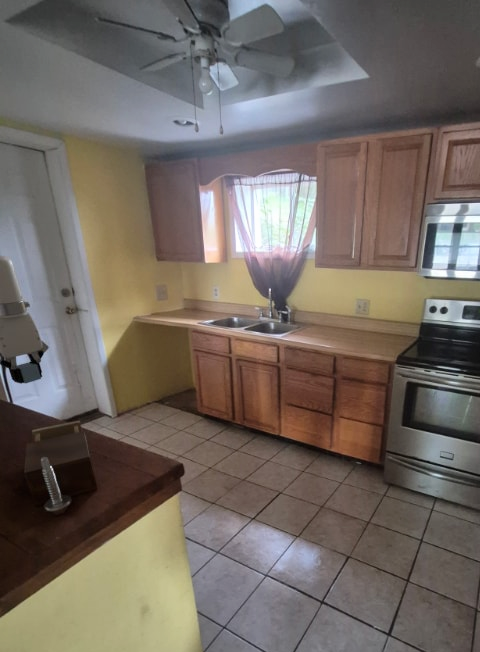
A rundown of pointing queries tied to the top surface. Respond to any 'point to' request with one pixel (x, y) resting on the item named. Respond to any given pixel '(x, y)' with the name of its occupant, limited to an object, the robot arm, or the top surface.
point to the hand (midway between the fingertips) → (28, 378)
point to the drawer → (56, 431)
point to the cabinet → (60, 466)
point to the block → (29, 372)
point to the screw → (54, 491)
